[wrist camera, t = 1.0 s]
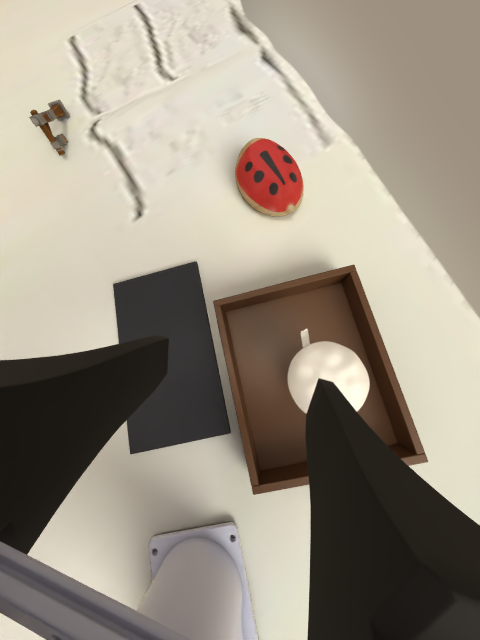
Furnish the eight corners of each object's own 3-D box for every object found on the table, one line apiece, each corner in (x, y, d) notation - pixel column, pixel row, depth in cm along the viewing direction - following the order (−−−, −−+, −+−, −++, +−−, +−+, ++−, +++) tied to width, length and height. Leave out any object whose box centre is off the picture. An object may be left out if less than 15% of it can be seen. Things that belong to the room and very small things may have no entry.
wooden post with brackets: (53, 159, 30) (20, 115, 26) (72, 140, 35) (46, 101, 31) (65, 155, 30) (34, 110, 26) (83, 137, 35) (58, 97, 31)
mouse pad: (230, 432, 21) (230, 433, 21) (132, 453, 22) (130, 454, 22) (197, 262, 25) (196, 261, 25) (115, 285, 26) (113, 284, 26)
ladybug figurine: (270, 145, 27) (270, 113, 24) (319, 201, 25) (327, 175, 21) (223, 174, 27) (216, 146, 24) (267, 233, 25) (267, 212, 21)
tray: (405, 448, 19) (428, 462, 16) (255, 477, 20) (253, 495, 17) (343, 276, 23) (354, 264, 20) (219, 308, 24) (213, 300, 21)
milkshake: (308, 334, 22) (341, 309, 12) (340, 385, 20) (405, 403, 11) (267, 357, 22) (266, 350, 12) (296, 409, 20) (322, 448, 11)
